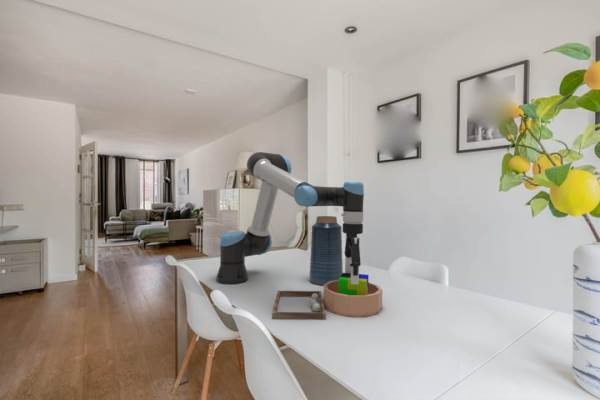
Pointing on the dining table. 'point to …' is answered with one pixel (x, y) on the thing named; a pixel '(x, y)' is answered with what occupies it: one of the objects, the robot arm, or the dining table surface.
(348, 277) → the puzzle toy
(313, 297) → the pebble
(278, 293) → the tray
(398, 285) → the dining table surface
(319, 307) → the pebble
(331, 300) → the bowl
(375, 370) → the dining table surface
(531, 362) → the dining table surface
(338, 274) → the blue thread spool
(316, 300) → the pebble
